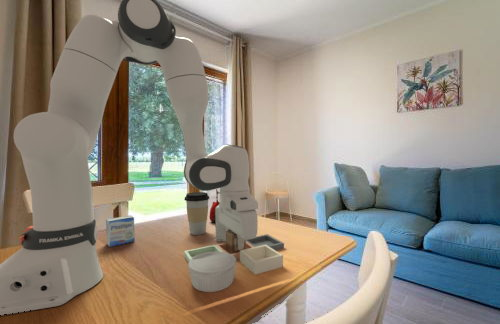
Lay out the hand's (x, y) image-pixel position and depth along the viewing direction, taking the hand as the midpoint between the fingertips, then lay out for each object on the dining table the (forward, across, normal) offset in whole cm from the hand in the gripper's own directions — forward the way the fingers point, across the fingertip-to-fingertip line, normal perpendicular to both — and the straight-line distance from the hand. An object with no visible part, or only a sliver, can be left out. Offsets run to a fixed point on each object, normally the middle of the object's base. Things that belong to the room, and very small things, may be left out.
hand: (235, 244), depth 72 cm
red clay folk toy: (+3, -35, +8) cm, 36 cm away
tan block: (+2, 0, 0) cm, 2 cm away
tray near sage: (+3, 0, -10) cm, 10 cm away
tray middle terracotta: (+3, 0, 0) cm, 3 cm away
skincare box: (+3, -13, +2) cm, 13 cm away
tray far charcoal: (+3, 0, +10) cm, 10 cm away
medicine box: (+3, -28, -30) cm, 42 cm away
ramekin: (+3, +12, -12) cm, 17 cm away
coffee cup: (+3, -25, -4) cm, 26 cm away
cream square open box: (+3, +10, +2) cm, 11 cm away
